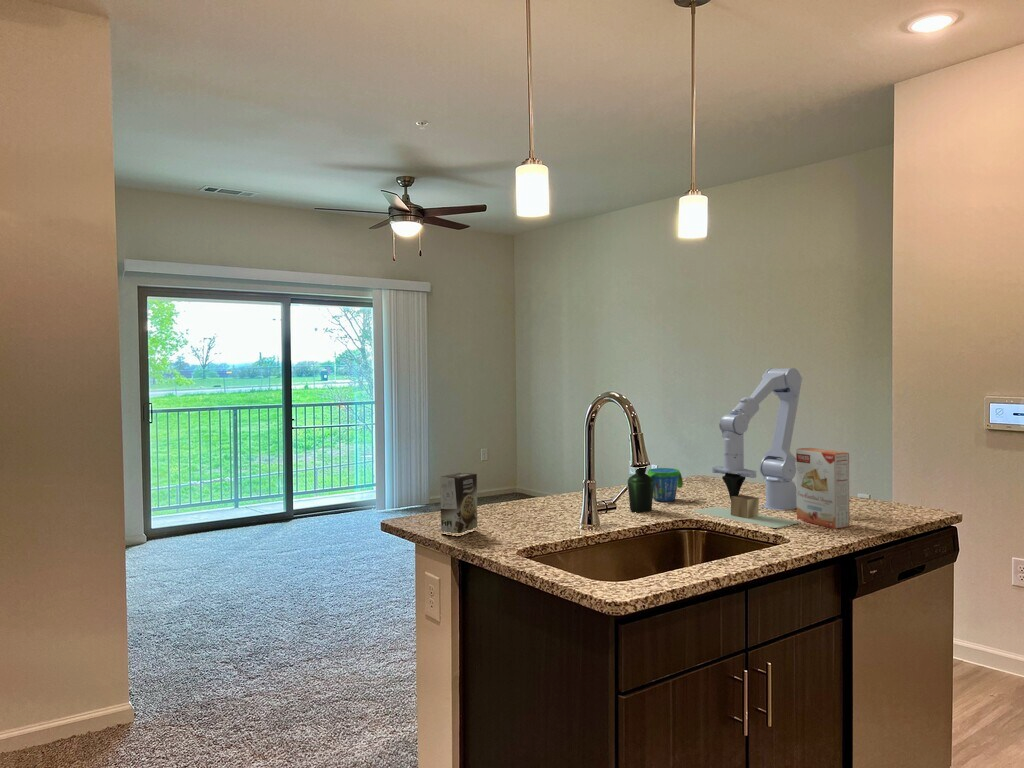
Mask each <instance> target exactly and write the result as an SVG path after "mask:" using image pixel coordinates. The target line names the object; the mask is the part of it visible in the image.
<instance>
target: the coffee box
mask: <svg viewBox="0 0 1024 768" xmlns="http://www.w3.org/2000/svg"><path fill="white" fill-rule="evenodd" d="M477 476H478V474H477V473H473V472H471V473H470V472H469V473H468V472H457V473H451V474H447V475H442V476H440V532H441V531H445V532H451V533H462V532H465V531H467V530H471V529H473V528H476V527H477V528H478V481H477V480H478V477H477Z"/></svg>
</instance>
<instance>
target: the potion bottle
mask: <svg viewBox="0 0 1024 768" xmlns="http://www.w3.org/2000/svg"><path fill="white" fill-rule="evenodd" d="M649 466H651V464H650V462H649ZM647 468H648V466H647V467H645V468H639V469H637V470H636V471H635V474H633V475H631V476H629V477H628V479H627V488H628V490H627V491H628V499H629V502H628V503H629V510H630V512H632V513H634V512H636V513H635V514H641V513H648V512H652V510H653V509H652V508H653V501H654V499H653V487H654V480H653V478H651V477H650V476H648V475H647V474H648V473H647V474H646V471H647Z"/></svg>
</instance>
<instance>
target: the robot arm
mask: <svg viewBox="0 0 1024 768" xmlns="http://www.w3.org/2000/svg"><path fill="white" fill-rule="evenodd" d="M761 378H762V379H761V381H760V383H758V385H757V386H756V388H755V389H754V390H753V392H752V393H751V394H750V396H745V397H742V398H741V399H740V400H739V403H738V404H737V405H736V406H735V407H734V408H733V409H732V410H731V411H730V413H725V414H724V415H723V416H722V417H721V418H720V422H719V423H718V427H719V430H720V431H721V438H723V466H718V465H716V466H715V465H714V466H712V468H711V469H712V471H711V472H712V473H713V474H721V475H723V474H724V475H723V476H722V477H721V478H722V480H723V483H724V484H725V485H726V488H727V491H728V495H729V498H730V500H731V496H737V495H740V491H741V488H742V485H743V484H744V482H745V480H746V478H749V479H756V478H757V471H756V470H751V469H747V468H745V461H744V459H745V455H744V454H745V453H744V451H745V450H744V448H745V447H744V443H745V442H744V440H745V439H744V436H745V435H744V433H746V432H747V431H748V429H749V428H748V427H749V424H750V422H751V420H752V418H754V416H755V415H756V414H757V413H758V412H759V410H760V404H761V403H762V402H763V401H764V400H765V399H766V398H767V397H769V395H771V393H773V394H774V395H775V396H777V397H778V399H779V404H778V409H777V415H776V421H775V427H774V430H773V431H774V432H773V438H772V443H771V448H769V449H768V450H766V451H765V452H764V455H763V457H762V459H761V462H760V465H759V472H760V474H761V476H762V477H763V479H764V480H765V504H764V505H759V507H760V508H762V509H763V508H764V509H769V510H774V511H781V512H784V511H786V510H794V509H795V510H796V509H797V484H796V483H795V482H794V481H793V479H794V478H795V475H797V474H796V456H795V455H794V454H793V453H792V452H791V451H790V450H791V444H792V438H793V434H794V428H795V422H796V418H797V417H796V416H797V412H798V406H799V400H800V392H801V386H802V381H803V376H802V375H801V373H800V371H799V369H797V368H795V367H789V368H773V367H769V368H767V369H766V370H765V372H764V373H763V374H762V377H761Z"/></svg>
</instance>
